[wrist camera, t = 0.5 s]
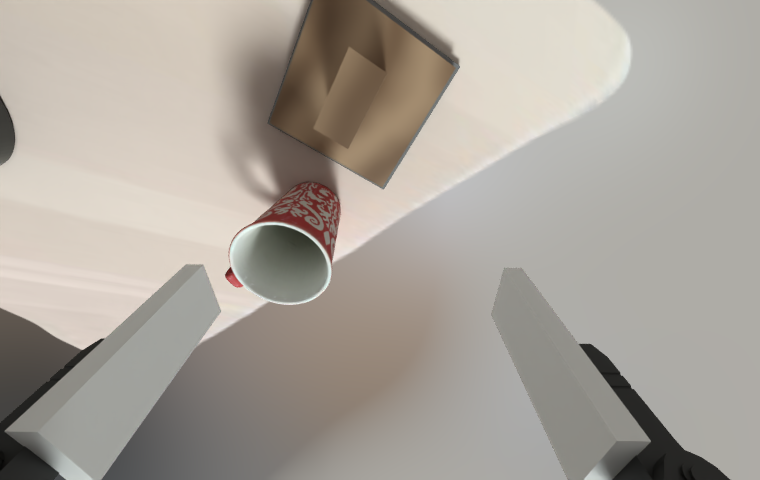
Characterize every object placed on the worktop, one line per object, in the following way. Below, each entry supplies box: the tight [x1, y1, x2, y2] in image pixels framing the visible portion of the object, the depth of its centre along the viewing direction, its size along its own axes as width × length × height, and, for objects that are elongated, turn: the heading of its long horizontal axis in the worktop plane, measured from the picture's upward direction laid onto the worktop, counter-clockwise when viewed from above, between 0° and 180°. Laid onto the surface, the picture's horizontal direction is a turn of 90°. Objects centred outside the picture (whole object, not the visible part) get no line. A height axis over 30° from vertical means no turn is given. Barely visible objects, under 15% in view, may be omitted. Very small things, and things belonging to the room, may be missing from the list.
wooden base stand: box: [270, 0, 456, 187], centre depth 25 cm, size 14×14×10 cm
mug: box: [225, 182, 340, 305], centre depth 31 cm, size 13×9×14 cm
